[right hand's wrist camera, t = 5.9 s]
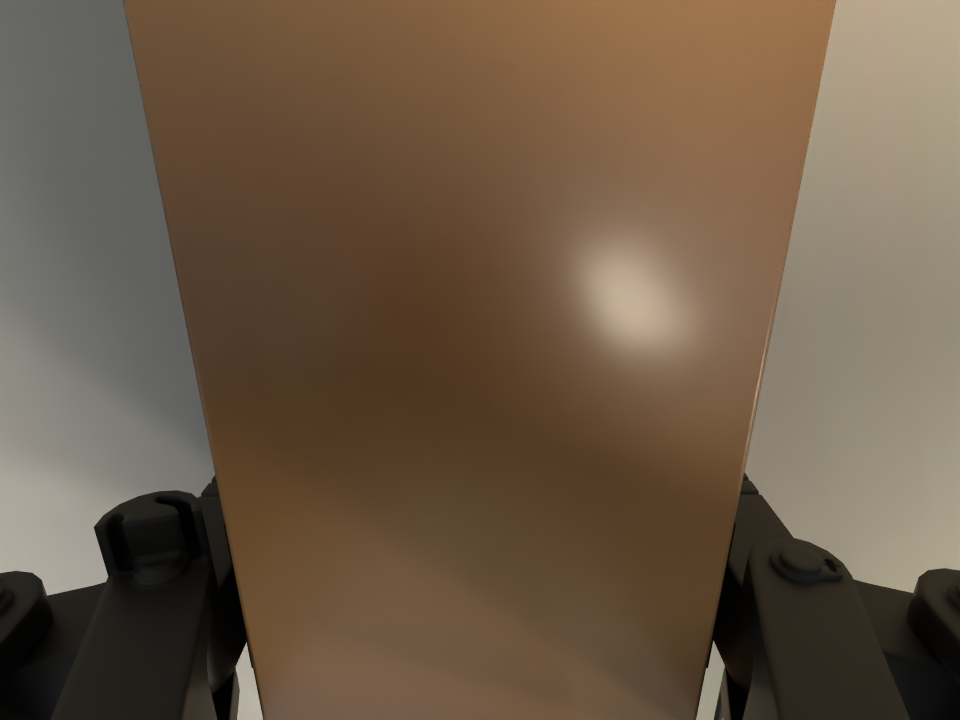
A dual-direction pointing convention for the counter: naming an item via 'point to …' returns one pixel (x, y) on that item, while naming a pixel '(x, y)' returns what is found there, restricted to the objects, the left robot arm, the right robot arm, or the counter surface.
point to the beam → (479, 330)
